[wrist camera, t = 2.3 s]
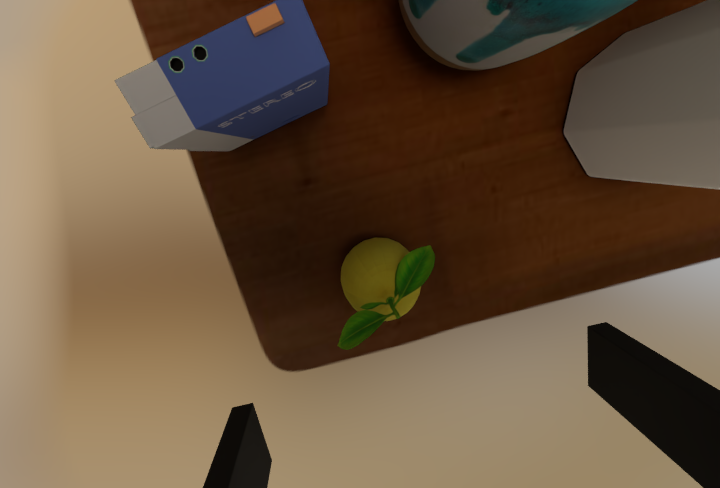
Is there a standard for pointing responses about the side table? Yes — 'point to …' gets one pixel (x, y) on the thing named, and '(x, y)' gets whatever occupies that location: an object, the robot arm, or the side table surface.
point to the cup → (653, 103)
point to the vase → (498, 27)
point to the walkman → (231, 82)
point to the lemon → (381, 284)
